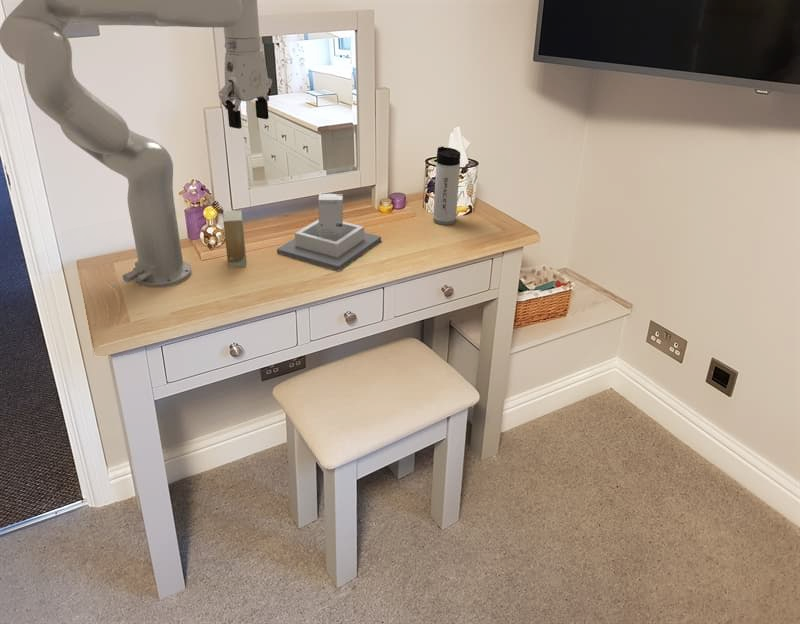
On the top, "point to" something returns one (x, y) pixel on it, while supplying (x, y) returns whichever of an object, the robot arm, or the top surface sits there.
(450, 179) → the travel mug
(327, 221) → the skincare box
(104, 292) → the top surface
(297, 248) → the duct collar
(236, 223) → the skincare box
